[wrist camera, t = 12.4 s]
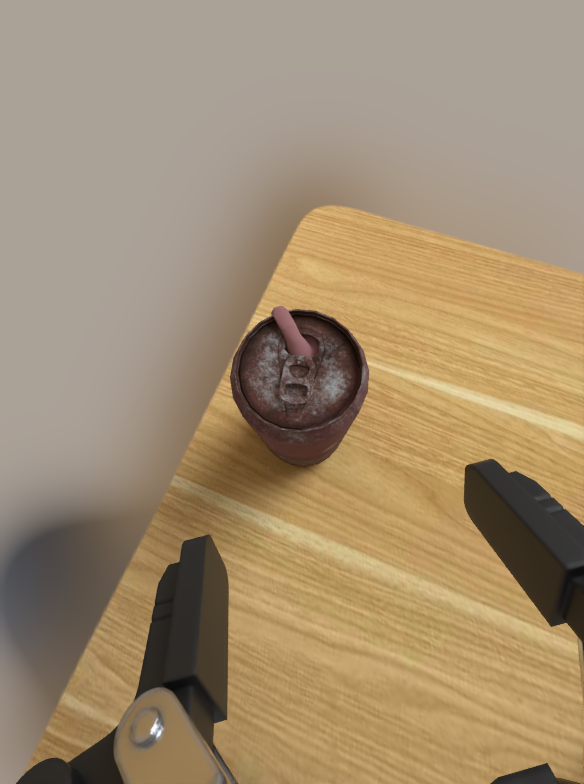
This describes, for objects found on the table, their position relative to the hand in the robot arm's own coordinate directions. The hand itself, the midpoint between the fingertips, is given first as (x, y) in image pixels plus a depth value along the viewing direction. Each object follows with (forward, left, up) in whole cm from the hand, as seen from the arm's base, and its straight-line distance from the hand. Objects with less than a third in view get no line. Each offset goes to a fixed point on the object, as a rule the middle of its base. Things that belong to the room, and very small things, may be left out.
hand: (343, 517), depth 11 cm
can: (-3, +5, -17) cm, 18 cm away
